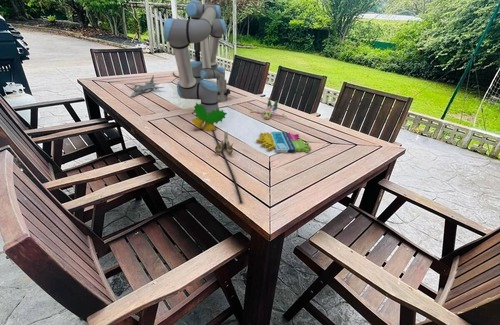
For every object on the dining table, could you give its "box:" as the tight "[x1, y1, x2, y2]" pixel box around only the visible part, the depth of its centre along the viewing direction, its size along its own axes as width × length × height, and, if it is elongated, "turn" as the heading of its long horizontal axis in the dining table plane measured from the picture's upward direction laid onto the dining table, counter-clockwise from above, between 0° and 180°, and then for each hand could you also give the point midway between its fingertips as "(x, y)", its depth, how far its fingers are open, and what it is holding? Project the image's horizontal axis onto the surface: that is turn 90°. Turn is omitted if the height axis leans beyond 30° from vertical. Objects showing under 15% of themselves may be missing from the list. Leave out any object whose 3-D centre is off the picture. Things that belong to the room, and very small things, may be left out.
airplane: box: [129, 74, 165, 98], centre depth 227 cm, size 38×31×10 cm
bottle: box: [216, 75, 227, 103], centre depth 215 cm, size 7×7×21 cm
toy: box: [249, 99, 287, 120], centre depth 196 cm, size 28×7×30 cm
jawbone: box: [214, 131, 234, 156], centre depth 136 cm, size 9×15×10 cm
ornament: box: [191, 102, 228, 132], centre depth 162 cm, size 21×8×15 cm, turn 105°
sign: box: [256, 131, 312, 154], centre depth 152 cm, size 26×2×30 cm
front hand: (197, 60), depth 196 cm, fingers closed on cap, 4 cm apart
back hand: (222, 94), depth 212 cm, fingers closed on bottle, 7 cm apart
